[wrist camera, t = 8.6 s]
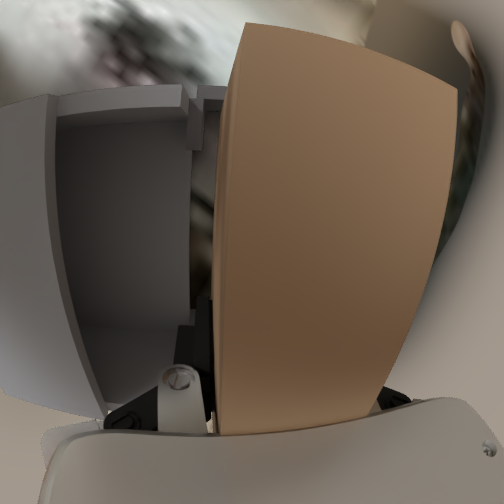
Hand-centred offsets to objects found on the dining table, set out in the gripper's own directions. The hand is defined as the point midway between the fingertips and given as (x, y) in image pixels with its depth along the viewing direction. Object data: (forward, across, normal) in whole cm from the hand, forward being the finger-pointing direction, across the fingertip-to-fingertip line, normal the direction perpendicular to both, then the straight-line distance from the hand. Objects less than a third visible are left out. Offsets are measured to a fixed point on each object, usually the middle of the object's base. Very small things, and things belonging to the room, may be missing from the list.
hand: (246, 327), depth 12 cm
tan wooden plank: (+4, 0, 0) cm, 4 cm away
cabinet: (+12, +8, 0) cm, 15 cm away
